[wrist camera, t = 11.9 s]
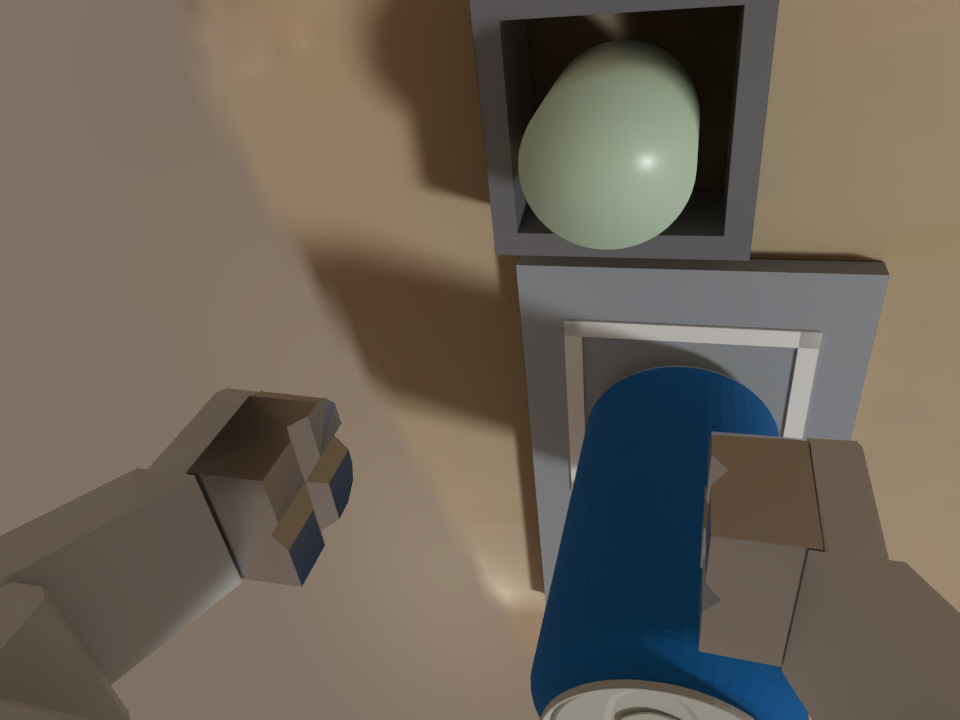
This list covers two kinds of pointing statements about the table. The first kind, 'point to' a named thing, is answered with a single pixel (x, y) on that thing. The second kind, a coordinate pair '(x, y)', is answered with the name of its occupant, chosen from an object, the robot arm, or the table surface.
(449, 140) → the table surface
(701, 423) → the beverage can
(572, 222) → the button
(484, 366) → the table surface
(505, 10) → the button housing
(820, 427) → the picture board
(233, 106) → the table surface
